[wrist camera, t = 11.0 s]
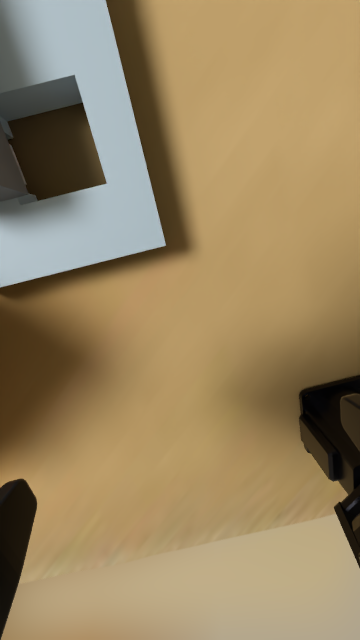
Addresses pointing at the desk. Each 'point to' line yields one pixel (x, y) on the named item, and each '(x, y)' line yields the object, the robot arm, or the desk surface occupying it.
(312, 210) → the desk surface
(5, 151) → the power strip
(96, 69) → the keyhole board
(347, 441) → the robot arm
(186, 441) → the desk surface
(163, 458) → the desk surface
